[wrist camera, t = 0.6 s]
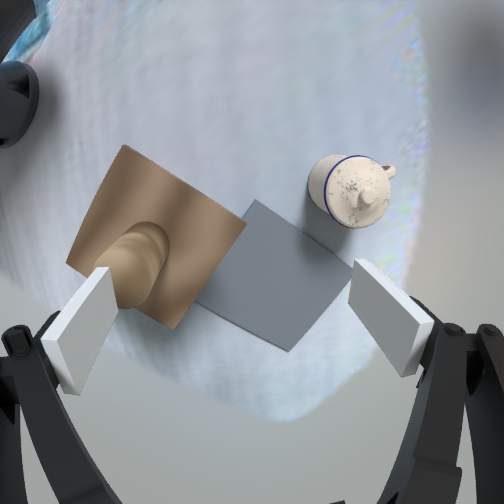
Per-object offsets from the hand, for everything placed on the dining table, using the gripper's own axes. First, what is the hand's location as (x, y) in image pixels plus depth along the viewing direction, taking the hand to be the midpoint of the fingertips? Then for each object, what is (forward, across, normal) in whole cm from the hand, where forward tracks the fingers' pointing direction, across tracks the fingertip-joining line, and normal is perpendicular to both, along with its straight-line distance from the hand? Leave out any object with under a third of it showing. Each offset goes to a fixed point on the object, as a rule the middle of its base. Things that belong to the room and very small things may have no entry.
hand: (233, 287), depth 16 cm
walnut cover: (+17, -8, -3) cm, 19 cm away
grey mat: (+28, +7, -14) cm, 32 cm away
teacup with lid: (+29, +18, +2) cm, 34 cm away
